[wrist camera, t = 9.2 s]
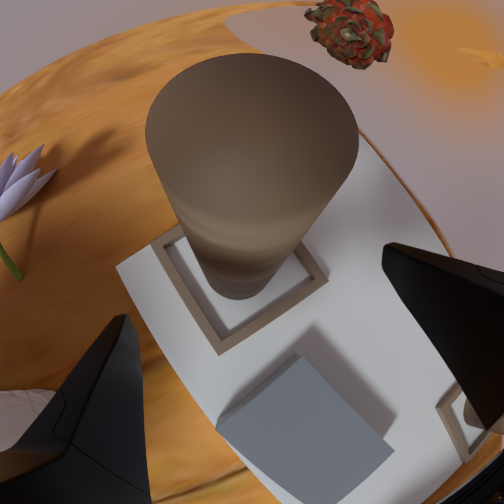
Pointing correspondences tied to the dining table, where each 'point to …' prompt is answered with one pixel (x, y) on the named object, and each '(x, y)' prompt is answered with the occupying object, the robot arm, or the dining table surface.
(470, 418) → the pin
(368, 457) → the cover
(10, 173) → the water lily
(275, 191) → the pin
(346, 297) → the board
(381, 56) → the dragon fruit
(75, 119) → the dining table surface
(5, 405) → the white cup
